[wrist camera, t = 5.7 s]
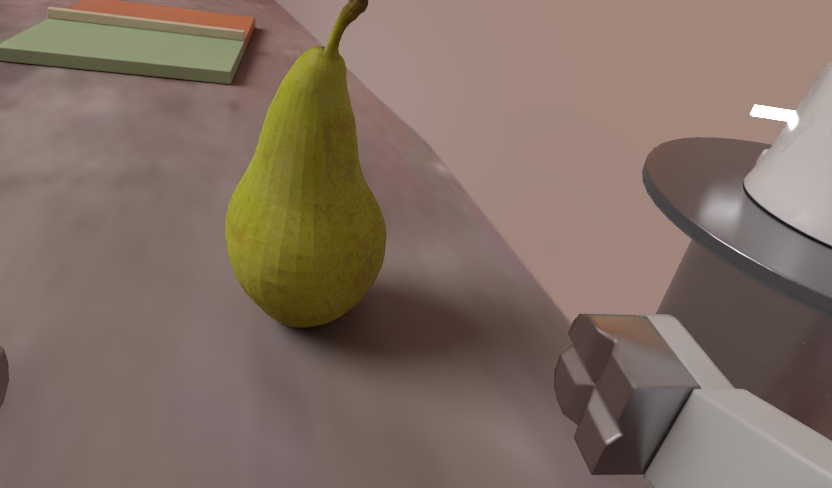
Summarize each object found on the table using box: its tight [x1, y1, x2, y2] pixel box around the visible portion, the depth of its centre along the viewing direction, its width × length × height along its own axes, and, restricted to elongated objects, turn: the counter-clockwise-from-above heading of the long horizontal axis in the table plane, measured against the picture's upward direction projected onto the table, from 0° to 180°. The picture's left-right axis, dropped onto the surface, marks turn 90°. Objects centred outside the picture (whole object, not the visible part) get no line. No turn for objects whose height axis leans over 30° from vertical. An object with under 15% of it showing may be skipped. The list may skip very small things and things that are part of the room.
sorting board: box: [0, 0, 255, 84], centre depth 49 cm, size 16×20×2 cm
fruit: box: [225, 0, 386, 327], centre depth 19 cm, size 6×6×12 cm
